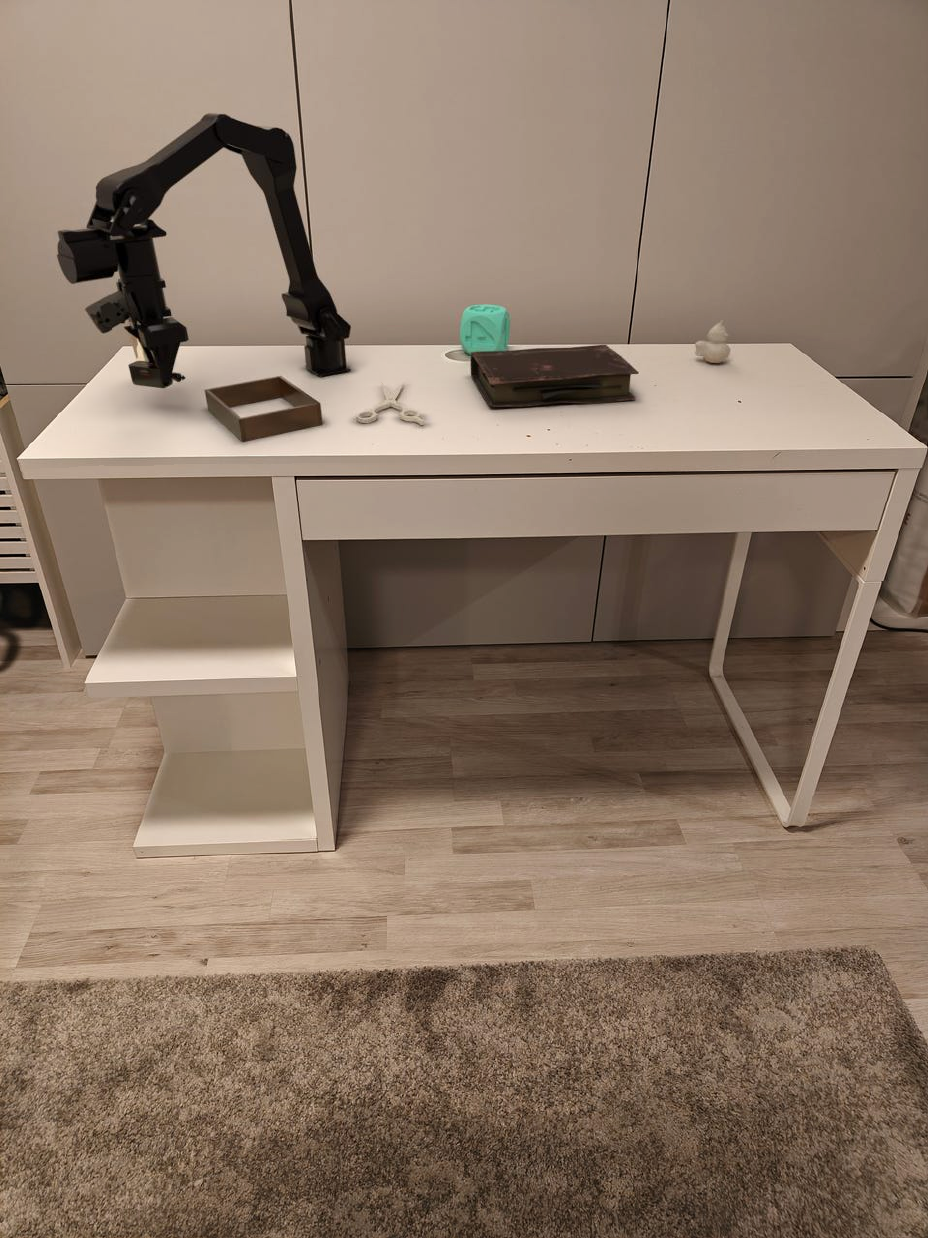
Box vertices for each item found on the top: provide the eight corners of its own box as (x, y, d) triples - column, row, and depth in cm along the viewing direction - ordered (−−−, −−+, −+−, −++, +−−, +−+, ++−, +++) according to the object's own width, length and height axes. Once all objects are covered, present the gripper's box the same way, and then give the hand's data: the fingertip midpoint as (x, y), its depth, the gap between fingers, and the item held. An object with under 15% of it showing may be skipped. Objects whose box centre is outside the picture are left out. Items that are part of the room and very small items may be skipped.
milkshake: (159, 377, 150) (147, 320, 144) (132, 375, 151) (119, 319, 145) (171, 369, 153) (160, 314, 148) (145, 368, 154) (133, 312, 149)
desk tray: (283, 395, 141) (281, 375, 140) (322, 424, 130) (320, 402, 128) (208, 410, 136) (204, 389, 134) (242, 441, 124) (238, 419, 122)
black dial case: (168, 390, 129) (164, 369, 127) (131, 385, 131) (126, 365, 130) (186, 381, 133) (182, 361, 131) (150, 376, 135) (145, 356, 133)
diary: (470, 376, 150) (470, 348, 147) (602, 368, 153) (605, 341, 150) (490, 412, 134) (491, 381, 132) (637, 402, 138) (640, 372, 135)
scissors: (355, 422, 129) (362, 380, 145) (356, 427, 129) (362, 384, 145) (423, 420, 129) (422, 379, 145) (423, 425, 129) (423, 383, 146)
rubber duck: (731, 366, 154) (738, 322, 150) (695, 366, 154) (702, 322, 150) (724, 358, 159) (732, 314, 154) (690, 357, 159) (696, 314, 154)
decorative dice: (499, 358, 159) (500, 315, 154) (459, 355, 160) (459, 312, 156) (509, 347, 165) (510, 305, 160) (471, 344, 167) (471, 302, 162)
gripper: (69, 268, 125) (96, 370, 134) (96, 292, 112) (124, 403, 121) (143, 259, 130) (164, 358, 139) (178, 281, 117) (199, 389, 126)
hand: (161, 376), depth 131 cm, fingers closed on black dial case, 5 cm apart
